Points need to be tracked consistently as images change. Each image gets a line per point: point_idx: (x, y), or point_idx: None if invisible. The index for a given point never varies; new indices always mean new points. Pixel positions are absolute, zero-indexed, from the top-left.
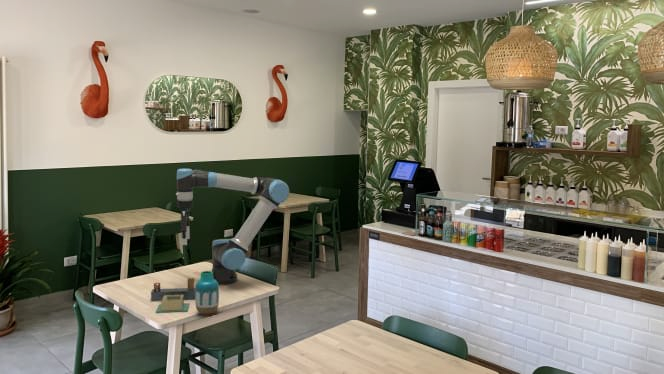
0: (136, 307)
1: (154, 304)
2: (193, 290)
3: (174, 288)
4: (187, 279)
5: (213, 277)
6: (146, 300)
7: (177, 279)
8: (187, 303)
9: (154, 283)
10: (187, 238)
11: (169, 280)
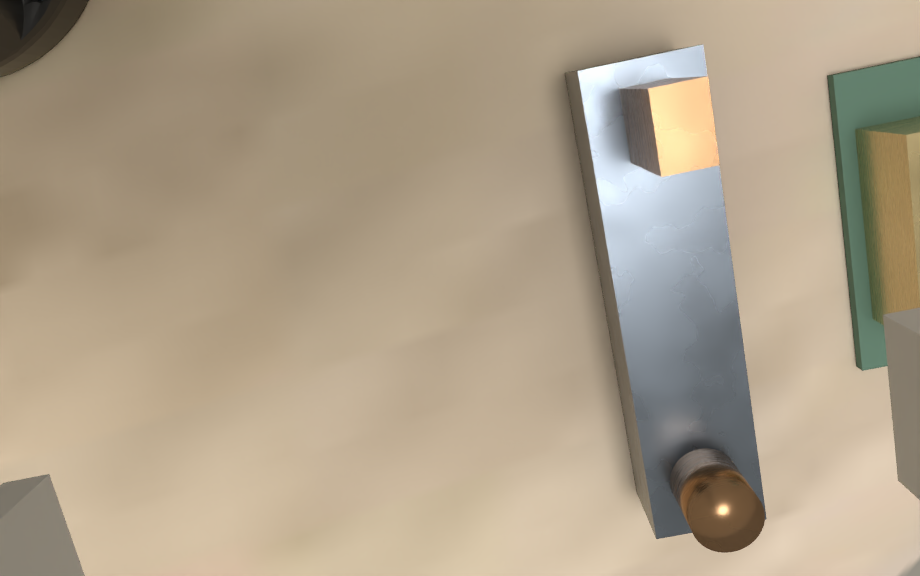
0: (899, 540)
1: (821, 416)
2: (693, 76)
3: (622, 322)
4: (718, 164)
5: (18, 1)
6: None
7: (10, 450)
8: (844, 93)
9: (722, 547)
10: (64, 537)
11: None
